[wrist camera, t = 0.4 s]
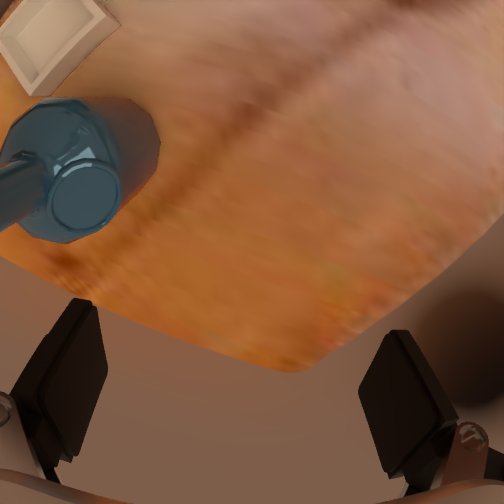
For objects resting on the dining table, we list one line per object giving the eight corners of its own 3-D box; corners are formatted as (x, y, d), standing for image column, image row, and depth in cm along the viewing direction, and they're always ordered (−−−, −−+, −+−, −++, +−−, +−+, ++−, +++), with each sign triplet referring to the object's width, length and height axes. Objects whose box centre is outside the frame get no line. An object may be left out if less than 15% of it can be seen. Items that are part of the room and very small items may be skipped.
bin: (75, -26, 24) (59, -36, 19) (121, 25, 28) (106, 15, 24) (12, 41, 27) (-8, 38, 22) (50, 95, 31) (29, 96, 27)
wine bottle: (58, 176, 36) (-115, 290, 9) (90, 83, 31) (-121, 91, 4) (142, 216, 39) (16, 400, 12) (184, 120, 34) (24, 164, 7)
